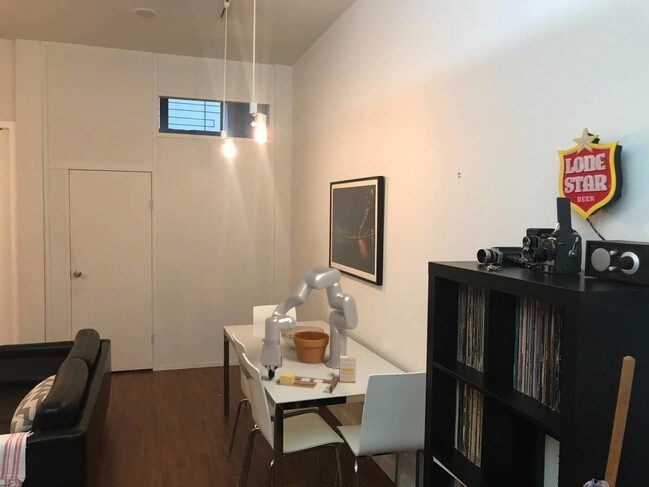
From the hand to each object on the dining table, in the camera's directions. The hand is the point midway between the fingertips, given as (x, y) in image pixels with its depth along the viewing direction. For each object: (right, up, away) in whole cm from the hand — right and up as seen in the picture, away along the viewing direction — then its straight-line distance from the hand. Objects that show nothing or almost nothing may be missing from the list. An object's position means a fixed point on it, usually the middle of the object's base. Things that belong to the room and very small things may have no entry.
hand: (271, 378), depth 255 cm
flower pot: (+18, -1, +42) cm, 46 cm away
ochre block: (+8, -2, -2) cm, 9 cm away
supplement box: (+38, -4, +7) cm, 39 cm away
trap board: (+18, -3, -1) cm, 18 cm away
